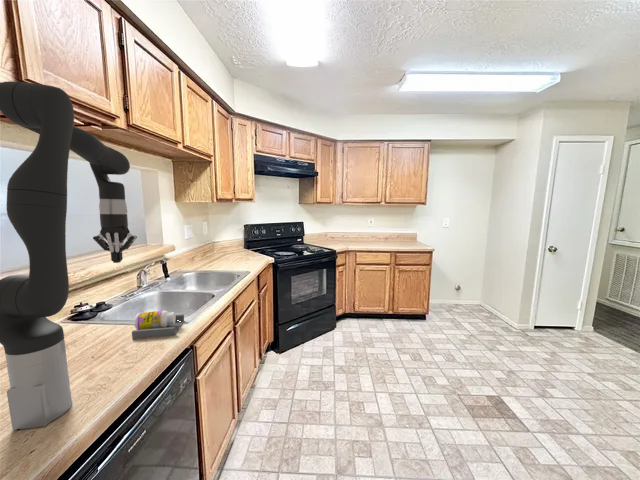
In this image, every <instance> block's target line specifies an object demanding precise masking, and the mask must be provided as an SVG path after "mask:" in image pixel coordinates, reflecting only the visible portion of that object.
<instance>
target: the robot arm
mask: <svg viewBox="0 0 640 480" xmlns="http://www.w3.org/2000/svg"><path fill="white" fill-rule="evenodd" d="M73 105H74V104H73V102H72V99H71V98H70V96H69V94H68V93H67V92H66V91H65V90H63V89H62V88H61V87H57V86H55V85H49V84H48V85H47V84H40V83H31V82H27V81H26V82H23V81H15V80H14V81H12V80H10V81H8V80H7V81H3V82H0V112H1V113H2V115H4V116H5V117H6V119H8V120H9V121H11V122H12V123H14V124H15V125H18V126H20V127H22V128H24V129H27V130H29V131H31V132H34V133H36V134H39V136H38V141H37V142H36V143H37V144H36V146H35V148H34V149H33V151H32V152H31V154H29V155H28V157H27V158H25V160H24V161H23V162H22V163H21V164H20V165H19V166H18V167H17V168H16V170H15V171H14V172H13V173H12V174H11V177H9V180H8V182H7V188H6V190H7V191H6V214H7V217H8V220H9V222H10V224H11V225H12V227H13V229H14V230H15V232H16V233H17V234H18V235H17V236H19V237H20V239H21V240H22V242H23V244H24V245H25V248H26V250H27V254H28V258H29V259H28V261H29V263H28V264H29V271H28V272H29V273H27V274H26V273H25V274H12V275H8V276H4V277H3V278H0V344H1V346H3V348H4V349H3V350H4V354H5V362H6V369H7V375H8V383H9V387H10V388H8V389H7V391H6V397H7V403H8V410H9V416H10V423H11V429H13V430H14V431H18V430H17V429H21V430H26V429H35V428H42V427H46V426H48V424H49V423H51V422H52V421H54V420H56V419H58V418H60V417H61V416H62V415H64V414H65V413H67V411H68V410H70V408H72V405H73V400H72V392H71V384H70V375H69V369H68V368H69V365H68V357H67V350H66V342H65V341H66V340H65V333H64V329H63V326H62V325H61V324H58V323H56V322H54V321H52V320H50V319H49V318H48V317H52V316H55V315H57V314H59V312H60V311H62V310H63V308H64V307H65V306H66V304H67V301H68V298H69V292H70V285H69V284H70V282H69V273H68V261H67V249H66V243H67V242H66V241H67V240H66V237H67V235H66V231H67V230H66V228H67V225H66V224H67V213H68V212H67V210H68V170H69V169H68V168H69V156H70V151H71V152H73V153H75V154H76V155H77V156H79V157H80V158H82V159H83V160H85V162H88V163H89V166H90V169H91V171H92V174H93V175H94V178H95V180H96V184H97V187H98V199H99V202H98V203H99V205H98V209H99V221H100V230H99V234H97V235H96V236H95V235H94V236H93V238H92V239H93V240H94V241H95V242H96V243H97V245H99V246H100V247H101V248H102V250H103V251H107V252H109V253H110V260H111V261H112V263H114V264H118V263H119V264H120V263H121V262H122V261H123V252H124V251H125V250H128V249H130V247H131V246H132V245H133V243H134V242H135V241H136V240H137V238H138V236H137V235H135V234H134V235H133V234H132V233H131V231H130V230H129V222H128V221H129V220H128V218H129V217H128V207H127V202H126V201H127V200H126V192H125V185H124V184H123V183H122V182H118V181H114V180H111V178H110V177H109V175H114V176H115V175H117V176H120V175H121V176H122V175H125V174H127V173H128V172H129V171H130V169H131V165H130V161H129V160H128V158H127V157H126V155H125V154H123V153H122V152H120V151H118V150H117V149H114V148H112V147H109V146H107V145H105V143H103V142H102V141H101V140H100V139H98V138H97V137H96V136H95V135H93V134H92V133H90V132H88V131H87V130H85V129H82V128H80V127H77V126H76V125H74V124H75V111H74V106H73ZM126 239H127V240H126ZM125 240H126V241H125ZM13 430H12V431H13Z"/></svg>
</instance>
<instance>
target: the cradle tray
mask: <svg viewBox="0 0 640 480" xmlns="http://www.w3.org/2000/svg"><path fill="white" fill-rule="evenodd" d="M175 315H176V320H175V324H168V325H167V326H166V327H165V328H157V329H144V330H136V329H135V330H134V329H133V330H132V331H131V338H132V340H140V339H150V338H161V337H175V335H176V334H177V333H178V331H179V330H180V328H181V326H182V325H183V323H184V322H183V321H185V314H182V313H181V314H175ZM177 320H179V321H181V322H179V321H177Z"/></svg>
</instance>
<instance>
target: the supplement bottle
mask: <svg viewBox="0 0 640 480" xmlns="http://www.w3.org/2000/svg"><path fill="white" fill-rule="evenodd" d="M176 315H177V314H176V312H175V311H172V312H169V311H167V310H156V311H155V310H152V311H144V312H138V313H137V314H136V316H135V318H134V328H135V330H144V329H157V328H165V327H166V326H167V325H168V324H175V320H176Z"/></svg>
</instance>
